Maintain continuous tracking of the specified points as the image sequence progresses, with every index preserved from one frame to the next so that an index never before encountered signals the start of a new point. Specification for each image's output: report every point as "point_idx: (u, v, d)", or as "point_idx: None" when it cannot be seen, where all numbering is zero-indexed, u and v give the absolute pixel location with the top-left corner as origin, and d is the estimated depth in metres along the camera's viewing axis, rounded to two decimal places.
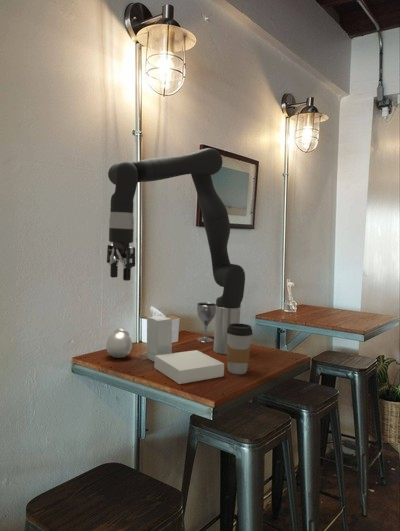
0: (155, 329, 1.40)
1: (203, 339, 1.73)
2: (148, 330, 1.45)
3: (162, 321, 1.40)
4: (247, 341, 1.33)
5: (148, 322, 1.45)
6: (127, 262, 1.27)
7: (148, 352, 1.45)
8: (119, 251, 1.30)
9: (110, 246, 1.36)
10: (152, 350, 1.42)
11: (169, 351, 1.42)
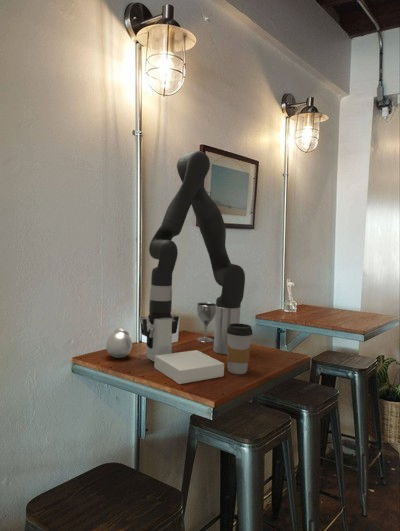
0: (155, 329, 1.40)
1: (203, 339, 1.73)
2: None
3: (162, 321, 1.40)
4: (247, 341, 1.33)
5: (148, 322, 1.45)
6: (175, 329, 1.46)
7: (148, 352, 1.45)
8: None
9: (145, 319, 1.40)
10: (152, 350, 1.42)
11: (169, 351, 1.42)
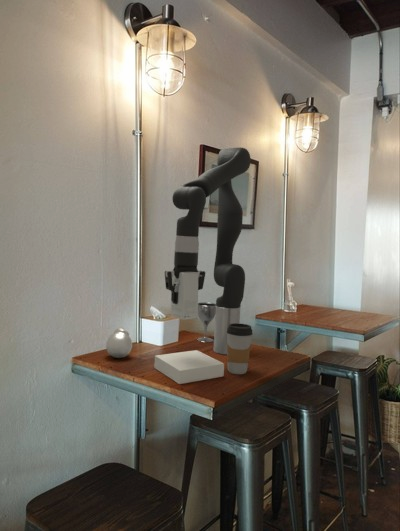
0: (181, 283, 1.31)
1: (203, 339, 1.73)
2: None
3: (188, 274, 1.30)
4: (247, 341, 1.33)
5: (173, 277, 1.35)
6: (201, 285, 1.36)
7: (172, 309, 1.35)
8: None
9: (170, 272, 1.30)
10: (177, 306, 1.33)
11: (195, 307, 1.33)
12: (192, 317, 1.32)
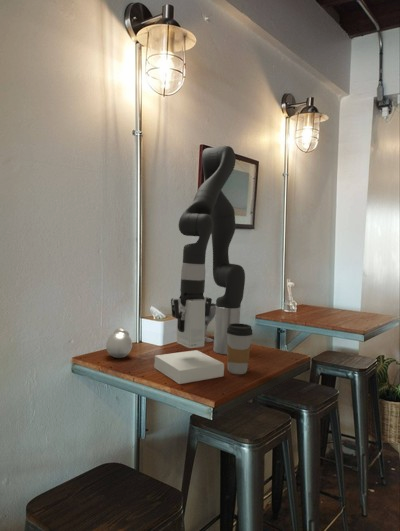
0: (187, 311, 1.29)
1: None
2: None
3: (195, 302, 1.29)
4: (247, 341, 1.33)
5: None
6: (207, 312, 1.35)
7: (179, 336, 1.33)
8: None
9: None
10: (184, 334, 1.31)
11: (202, 335, 1.31)
12: (199, 345, 1.31)
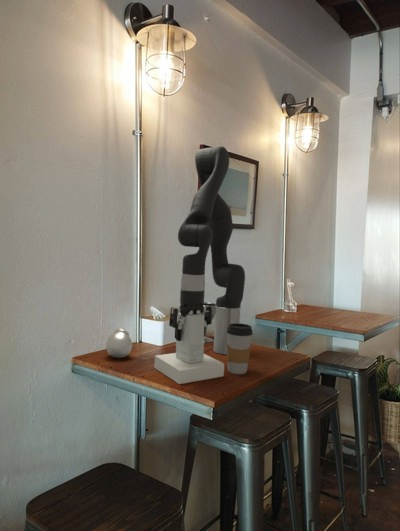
0: (186, 326, 1.29)
1: None
2: None
3: (194, 317, 1.29)
4: (247, 341, 1.33)
5: None
6: (210, 320, 1.35)
7: (178, 351, 1.34)
8: None
9: None
10: (183, 349, 1.31)
11: (201, 350, 1.31)
12: (198, 360, 1.31)
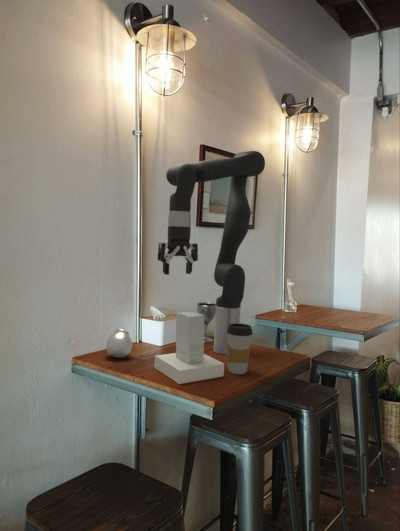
0: (186, 326, 1.29)
1: None
2: (178, 327, 1.33)
3: (194, 317, 1.29)
4: (247, 341, 1.33)
5: (178, 319, 1.34)
6: (196, 257, 1.43)
7: (178, 351, 1.34)
8: None
9: None
10: (183, 349, 1.31)
11: (201, 350, 1.31)
12: (198, 360, 1.31)
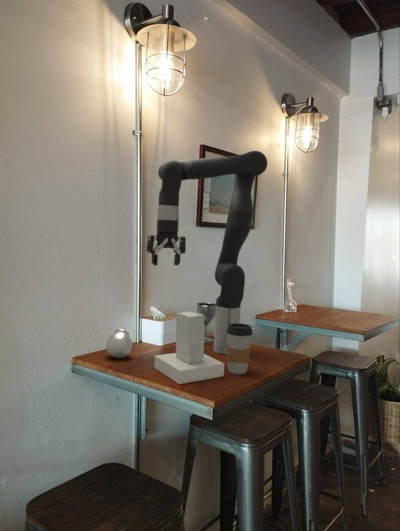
0: (186, 326, 1.29)
1: None
2: (178, 327, 1.33)
3: (194, 317, 1.29)
4: (247, 341, 1.33)
5: (178, 319, 1.34)
6: (184, 249, 1.51)
7: (178, 351, 1.34)
8: None
9: None
10: (183, 349, 1.31)
11: (201, 350, 1.31)
12: (198, 360, 1.31)
